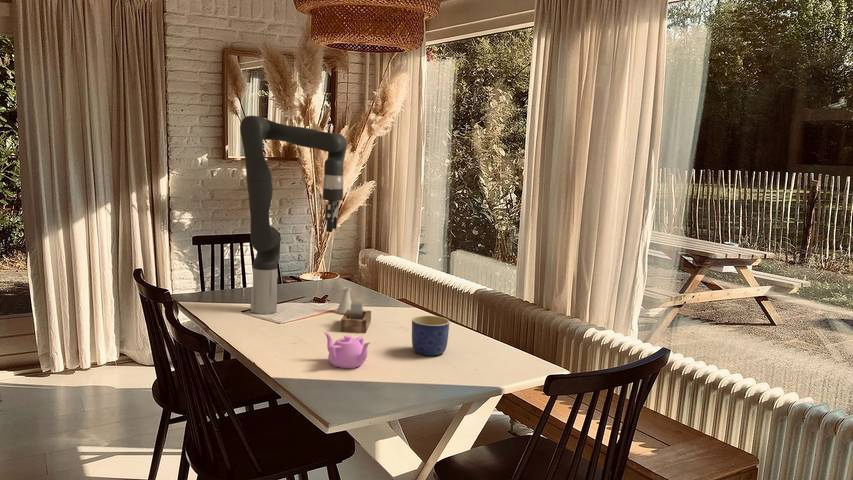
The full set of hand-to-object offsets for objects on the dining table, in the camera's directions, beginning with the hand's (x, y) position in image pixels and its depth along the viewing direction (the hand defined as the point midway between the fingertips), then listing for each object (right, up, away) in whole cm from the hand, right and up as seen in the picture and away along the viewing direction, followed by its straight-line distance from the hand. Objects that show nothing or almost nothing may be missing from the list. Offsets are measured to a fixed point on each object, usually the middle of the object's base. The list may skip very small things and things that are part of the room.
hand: (331, 230), depth 265 cm
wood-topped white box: (+10, -36, -5) cm, 37 cm away
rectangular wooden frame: (+10, -36, -5) cm, 37 cm away
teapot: (+11, -42, -47) cm, 64 cm away
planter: (+37, -41, -31) cm, 63 cm away
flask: (+4, -33, +15) cm, 36 cm away
